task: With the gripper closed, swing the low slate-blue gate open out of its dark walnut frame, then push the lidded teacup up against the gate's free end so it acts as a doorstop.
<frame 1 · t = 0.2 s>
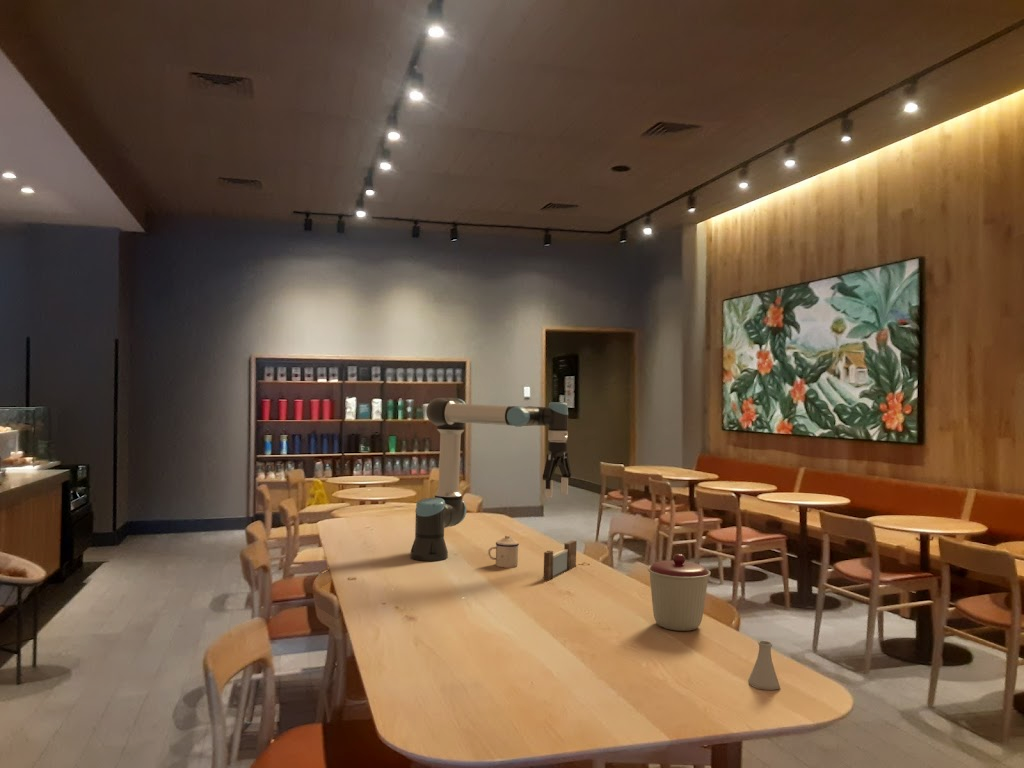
hand: (556, 495, 299), 28 cm above the table, fingers open, 13 cm apart
canister: (677, 626, 223), on the table
flask: (764, 686, 178), on the table
teacup with lid: (503, 566, 297), on the table
frame: (566, 569, 293), on the table
gate: (558, 562, 286), point 4 cm above the table, hinge at 0.0°
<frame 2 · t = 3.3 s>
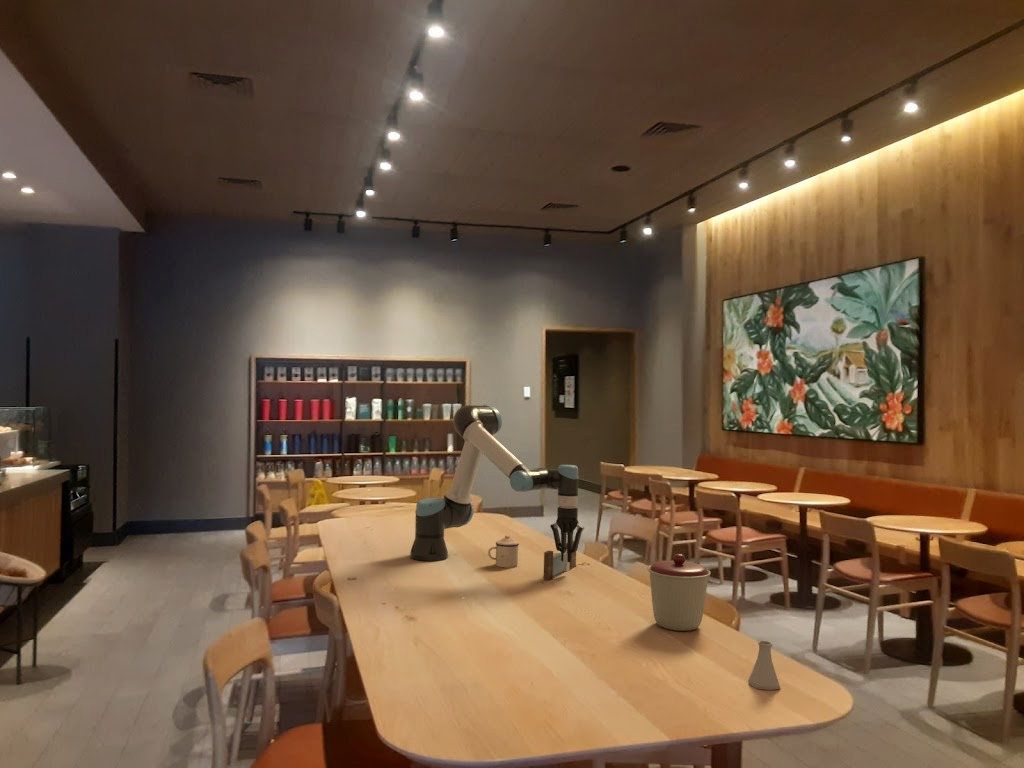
hand: (566, 570, 283), 2 cm above the table, fingers closed
gate: (558, 562, 286), point 4 cm above the table, hinge at 0.0°, touching gripper
everything else where it was.
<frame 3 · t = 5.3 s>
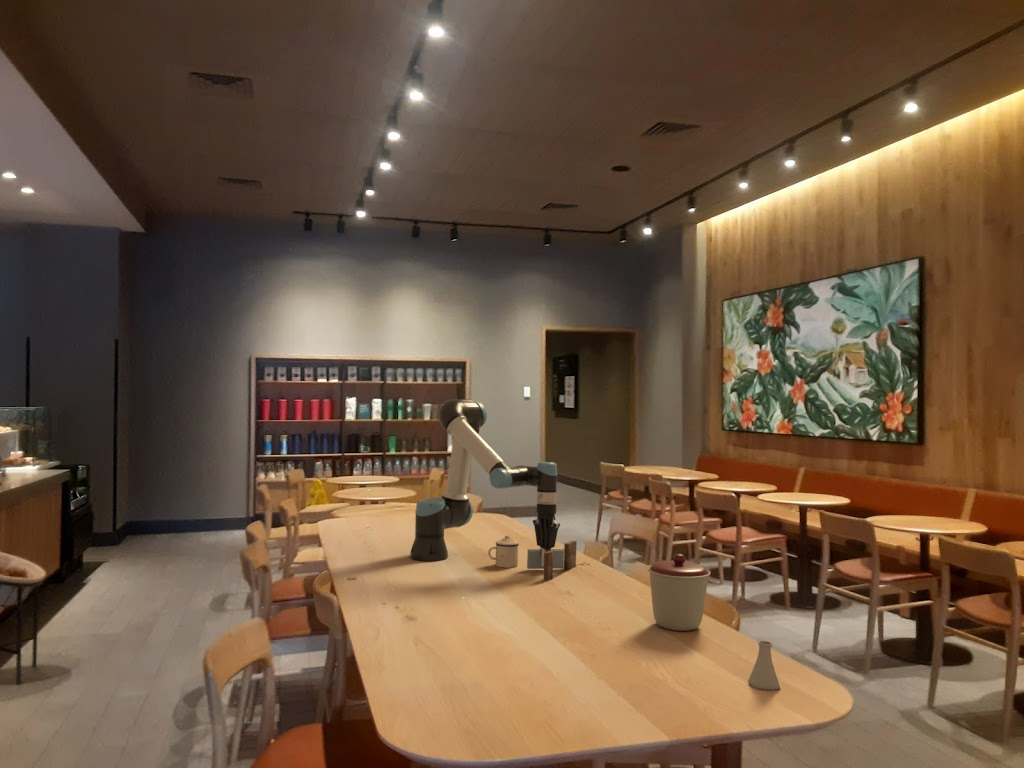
hand: (545, 565, 288), 2 cm above the table, fingers closed
gate: (545, 558, 292), point 4 cm above the table, hinge at 54.7°, touching gripper
everything else where it was.
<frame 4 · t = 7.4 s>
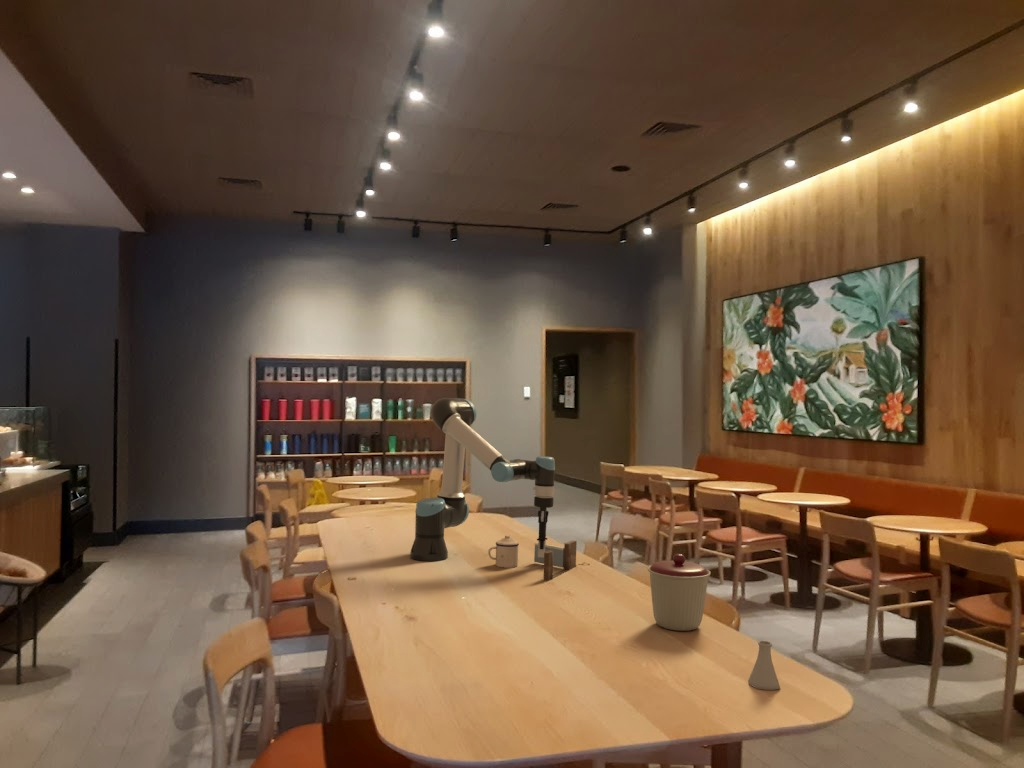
hand: (541, 556, 297), 4 cm above the table, fingers closed
gate: (549, 554, 299), point 4 cm above the table, hinge at 104.0°
everything else where it was.
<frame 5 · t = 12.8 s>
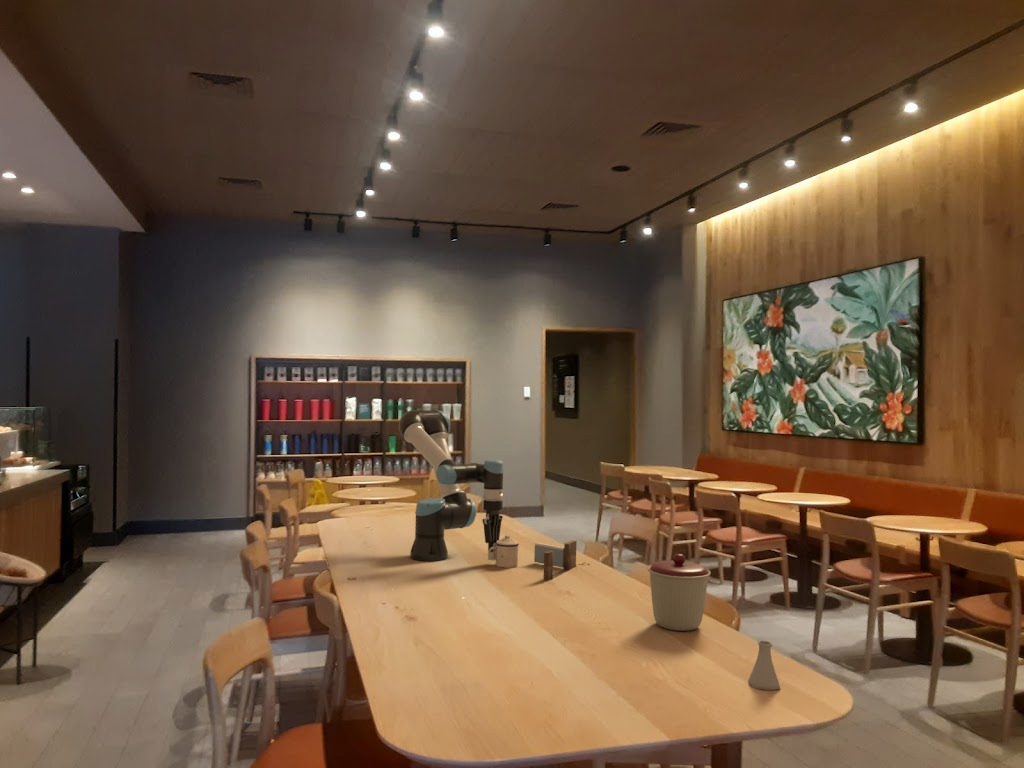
hand: (491, 559, 299), 2 cm above the table, fingers closed
teacup with lid: (503, 566, 297), on the table, touching gripper
everything else where it was.
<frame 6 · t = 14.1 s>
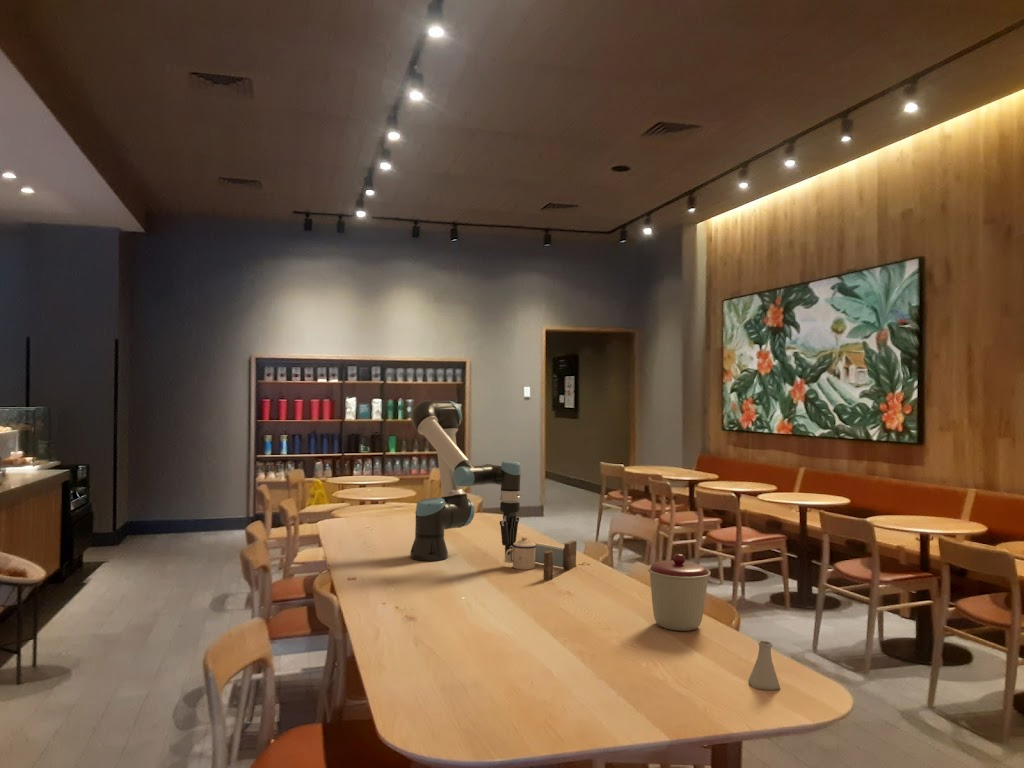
hand: (508, 562, 296), 2 cm above the table, fingers closed
teacup with lid: (520, 568, 295), on the table, touching gripper
everything else where it was.
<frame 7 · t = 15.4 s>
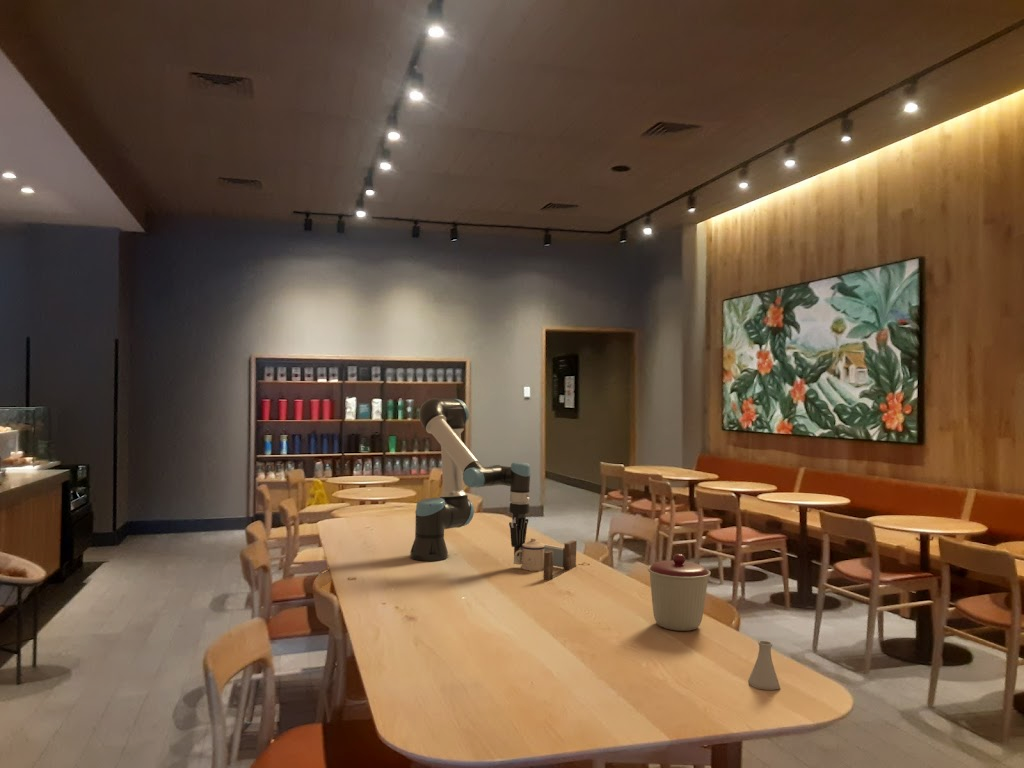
hand: (517, 563, 295), 1 cm above the table, fingers closed
teacup with lid: (529, 569, 293), on the table, touching gripper
everything else where it was.
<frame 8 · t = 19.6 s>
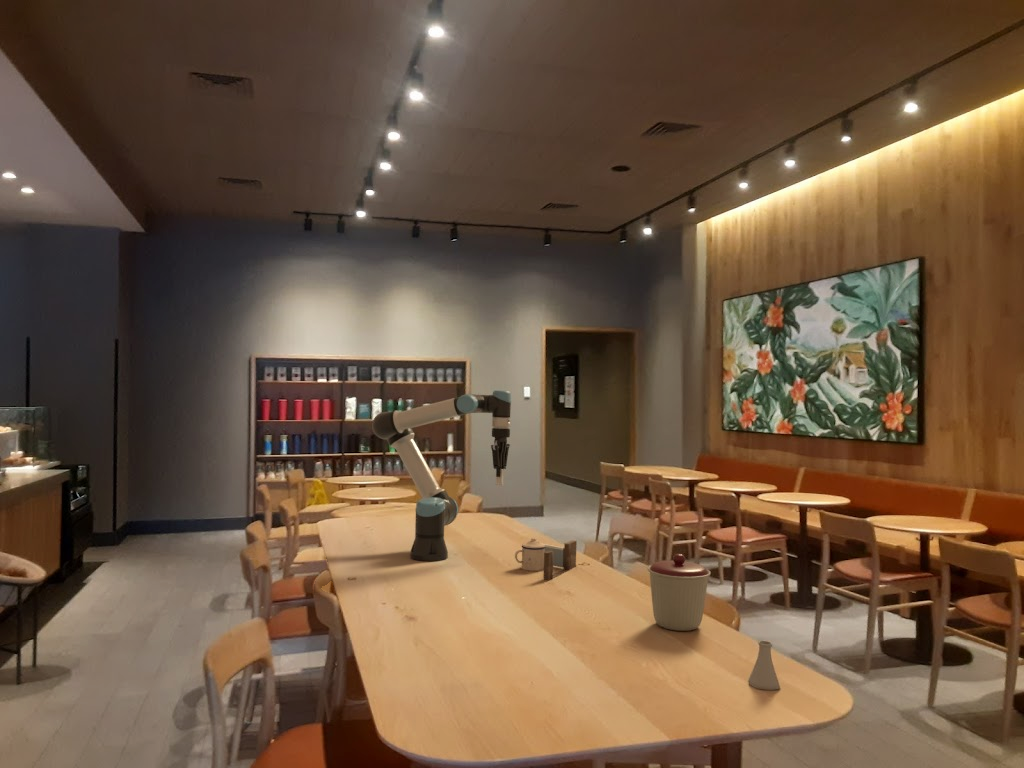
hand: (499, 484, 316), 29 cm above the table, fingers closed
teacup with lid: (529, 569, 293), on the table
everything else where it was.
at the end: gate at +104° (first picture: +0°); teacup with lid inside the target area (2.0 cm from its centre), on the table; teacup with lid tilted 0° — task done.
